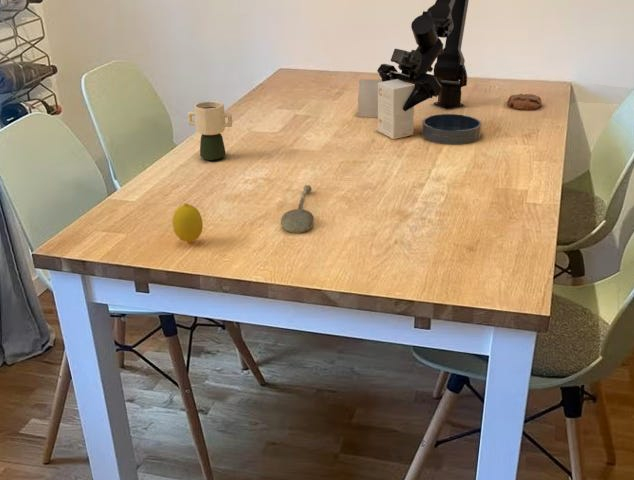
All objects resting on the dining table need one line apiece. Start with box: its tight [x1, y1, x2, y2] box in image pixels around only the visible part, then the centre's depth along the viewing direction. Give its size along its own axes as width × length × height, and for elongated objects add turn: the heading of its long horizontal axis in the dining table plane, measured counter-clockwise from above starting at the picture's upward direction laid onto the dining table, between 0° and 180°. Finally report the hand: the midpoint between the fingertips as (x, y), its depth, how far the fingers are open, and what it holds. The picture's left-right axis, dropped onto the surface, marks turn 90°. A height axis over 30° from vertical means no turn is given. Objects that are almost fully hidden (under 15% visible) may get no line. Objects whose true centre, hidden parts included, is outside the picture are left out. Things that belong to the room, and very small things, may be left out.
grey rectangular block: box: [357, 78, 382, 118], centre depth 217 cm, size 4×7×10 cm, turn 80°
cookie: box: [506, 93, 542, 111], centre depth 226 cm, size 10×11×3 cm
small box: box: [377, 79, 415, 140], centre depth 201 cm, size 8×6×13 cm
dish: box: [421, 113, 483, 145], centre depth 202 cm, size 15×15×4 cm
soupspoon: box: [280, 184, 315, 234], centre depth 159 cm, size 22×3×7 cm
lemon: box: [172, 203, 203, 244], centre depth 145 cm, size 6×6×8 cm
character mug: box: [187, 100, 233, 161], centre depth 186 cm, size 11×7×13 cm, turn 80°
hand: (391, 106), depth 200 cm, fingers closed on small box, 9 cm apart
